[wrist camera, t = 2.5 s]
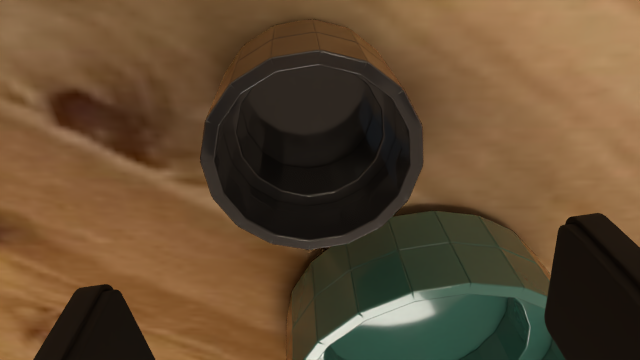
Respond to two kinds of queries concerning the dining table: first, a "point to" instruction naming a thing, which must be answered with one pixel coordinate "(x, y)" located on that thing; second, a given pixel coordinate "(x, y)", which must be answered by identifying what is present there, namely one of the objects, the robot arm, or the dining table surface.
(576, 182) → the dining table surface
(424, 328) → the green bowl
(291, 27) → the charcoal bowl
